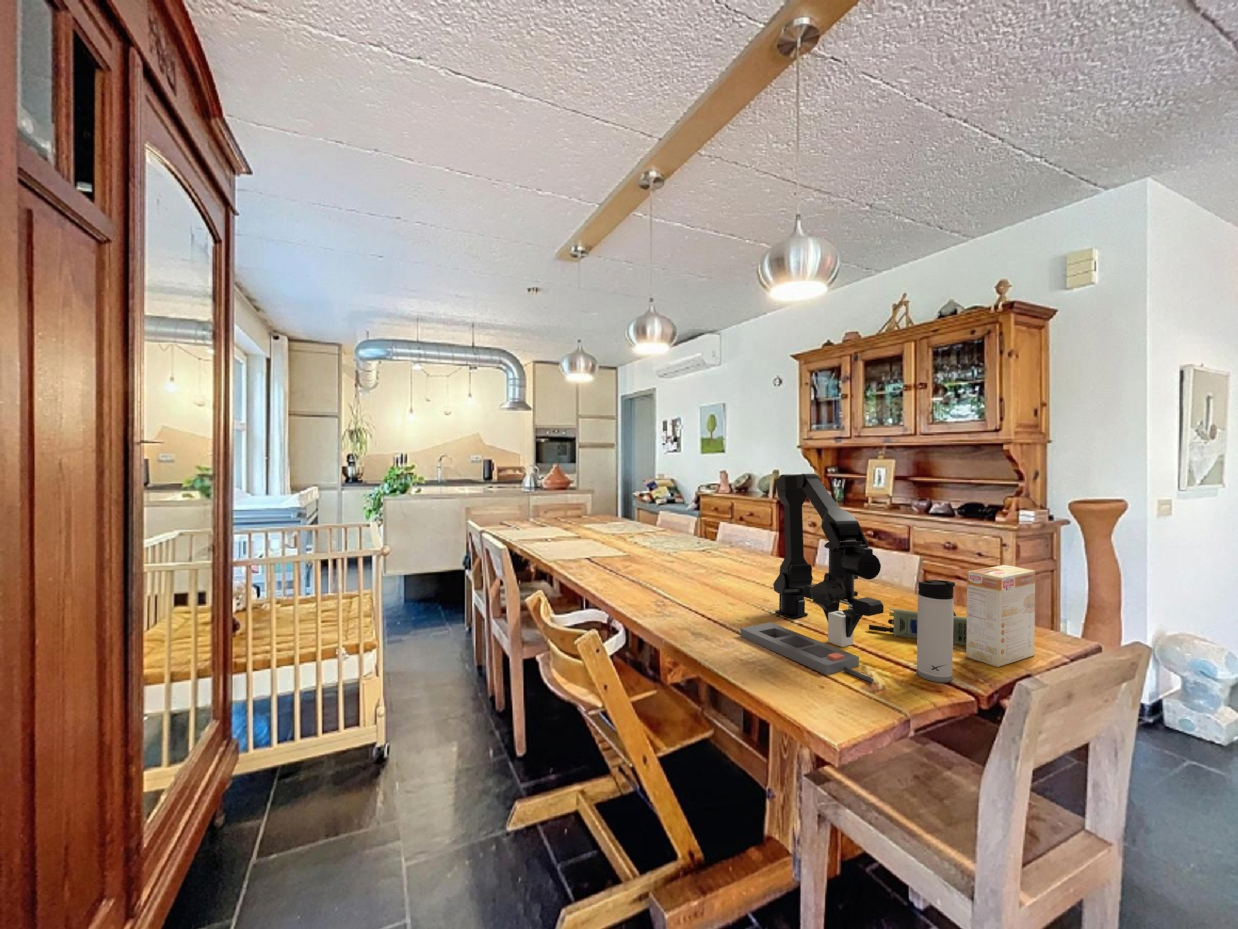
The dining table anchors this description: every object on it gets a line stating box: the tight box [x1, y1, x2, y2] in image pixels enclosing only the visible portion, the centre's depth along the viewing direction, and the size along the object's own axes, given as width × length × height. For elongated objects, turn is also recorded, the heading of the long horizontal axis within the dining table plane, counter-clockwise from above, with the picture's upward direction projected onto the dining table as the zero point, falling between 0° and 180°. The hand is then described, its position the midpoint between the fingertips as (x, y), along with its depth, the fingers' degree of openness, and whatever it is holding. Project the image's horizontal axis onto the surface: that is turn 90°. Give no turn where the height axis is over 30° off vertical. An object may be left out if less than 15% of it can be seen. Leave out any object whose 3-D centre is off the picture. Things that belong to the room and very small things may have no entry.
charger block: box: [827, 610, 854, 648], centre depth 126 cm, size 4×4×7 cm
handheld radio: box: [868, 608, 967, 647], centre depth 130 cm, size 7×3×25 cm
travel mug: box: [916, 579, 956, 684], centre depth 107 cm, size 6×7×20 cm
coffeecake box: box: [965, 564, 1036, 668], centre depth 118 cm, size 15×7×20 cm, turn 117°
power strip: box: [740, 621, 874, 683], centre depth 119 cm, size 33×10×3 cm, turn 29°
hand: (840, 634), depth 126 cm, fingers closed on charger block, 4 cm apart
